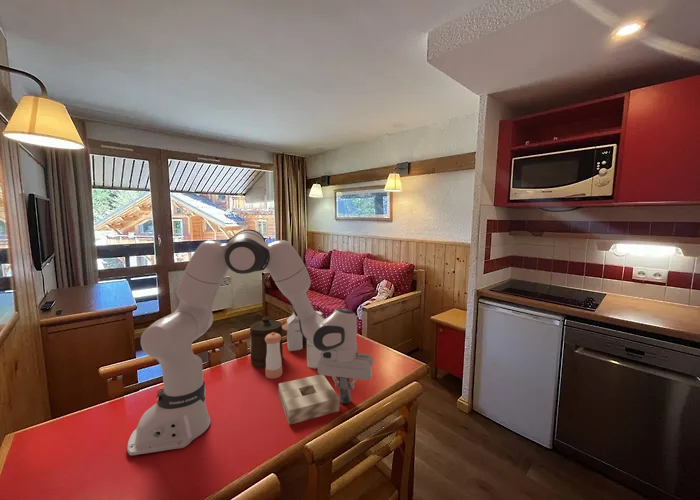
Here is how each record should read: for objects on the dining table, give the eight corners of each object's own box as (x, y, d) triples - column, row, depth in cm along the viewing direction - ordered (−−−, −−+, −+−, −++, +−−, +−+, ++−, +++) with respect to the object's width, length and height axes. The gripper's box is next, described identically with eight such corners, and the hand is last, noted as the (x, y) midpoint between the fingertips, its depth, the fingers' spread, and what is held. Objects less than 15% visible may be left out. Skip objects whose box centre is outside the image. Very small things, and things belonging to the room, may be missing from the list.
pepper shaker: (285, 374, 131) (284, 332, 129) (271, 380, 125) (270, 337, 123) (275, 368, 136) (274, 328, 134) (262, 375, 130) (260, 332, 128)
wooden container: (264, 352, 153) (263, 310, 150) (288, 357, 147) (287, 314, 145) (243, 365, 139) (242, 319, 137) (269, 371, 133) (268, 324, 131)
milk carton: (288, 352, 152) (288, 316, 151) (287, 346, 159) (286, 312, 157) (302, 350, 155) (302, 315, 153) (300, 345, 161) (300, 311, 160)
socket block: (289, 424, 98) (288, 410, 98) (278, 395, 115) (278, 383, 114) (339, 410, 105) (339, 397, 105) (323, 385, 122) (322, 373, 121)
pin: (342, 404, 108) (341, 378, 107) (338, 399, 112) (337, 373, 111) (352, 401, 110) (351, 376, 109) (348, 396, 113) (347, 371, 113)
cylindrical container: (325, 364, 140) (325, 312, 138) (315, 370, 134) (315, 316, 132) (313, 360, 144) (313, 310, 142) (303, 366, 138) (303, 314, 136)
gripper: (374, 350, 110) (373, 386, 111) (321, 345, 114) (321, 379, 115) (371, 358, 104) (371, 395, 105) (316, 352, 108) (316, 388, 109)
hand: (344, 387), depth 110 cm, fingers closed on pin, 4 cm apart
